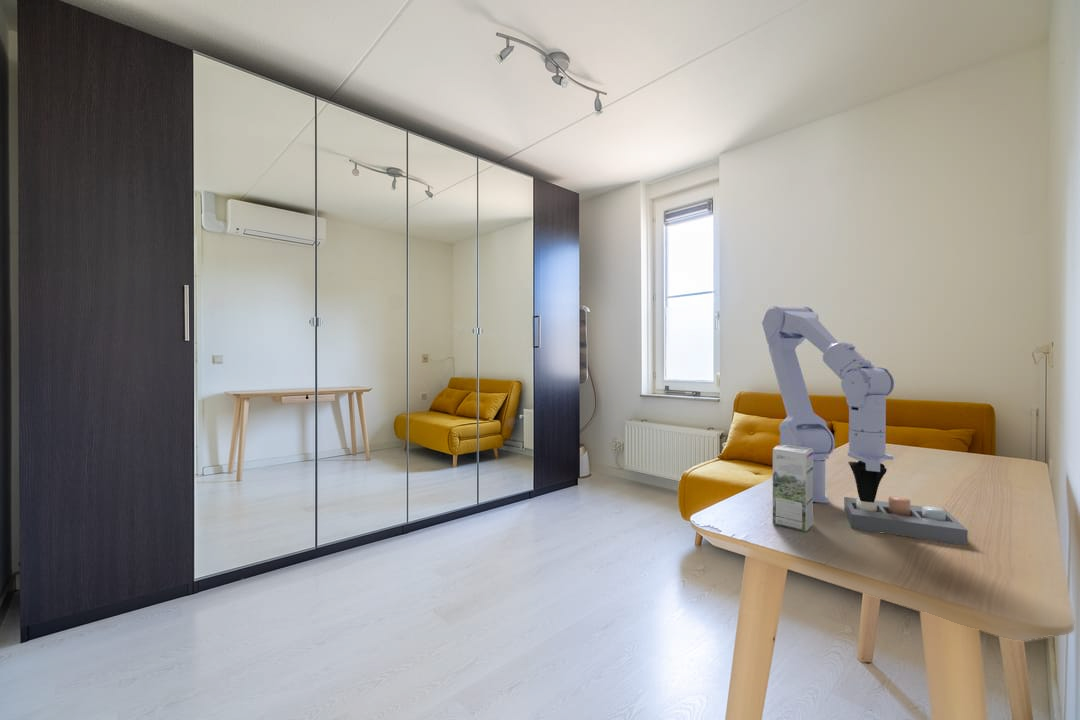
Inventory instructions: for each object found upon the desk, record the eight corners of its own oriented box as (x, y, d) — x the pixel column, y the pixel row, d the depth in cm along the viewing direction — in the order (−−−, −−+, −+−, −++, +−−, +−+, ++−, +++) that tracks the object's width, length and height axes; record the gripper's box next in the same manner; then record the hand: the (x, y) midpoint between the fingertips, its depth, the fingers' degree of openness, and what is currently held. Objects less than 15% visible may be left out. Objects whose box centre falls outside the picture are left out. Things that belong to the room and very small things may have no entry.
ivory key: (857, 516, 86) (857, 501, 86) (855, 511, 89) (855, 497, 89) (878, 518, 85) (878, 504, 85) (875, 513, 88) (875, 499, 88)
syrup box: (813, 524, 85) (814, 447, 85) (805, 533, 81) (806, 451, 81) (780, 516, 89) (780, 443, 89) (771, 524, 85) (771, 447, 85)
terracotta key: (890, 514, 84) (890, 499, 84) (886, 509, 87) (886, 495, 87) (912, 517, 82) (912, 502, 82) (908, 512, 85) (908, 497, 85)
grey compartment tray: (851, 528, 83) (851, 514, 83) (844, 509, 94) (844, 496, 94) (967, 545, 76) (967, 530, 76) (945, 522, 86) (945, 509, 86)
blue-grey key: (924, 525, 82) (925, 510, 82) (920, 519, 84) (920, 505, 84) (948, 528, 80) (948, 513, 80) (942, 522, 83) (942, 508, 83)
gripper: (901, 437, 79) (901, 516, 79) (885, 427, 91) (885, 494, 91) (852, 434, 82) (852, 509, 82) (843, 424, 95) (843, 489, 95)
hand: (866, 501), depth 87 cm, fingers closed, pressing on ivory key
